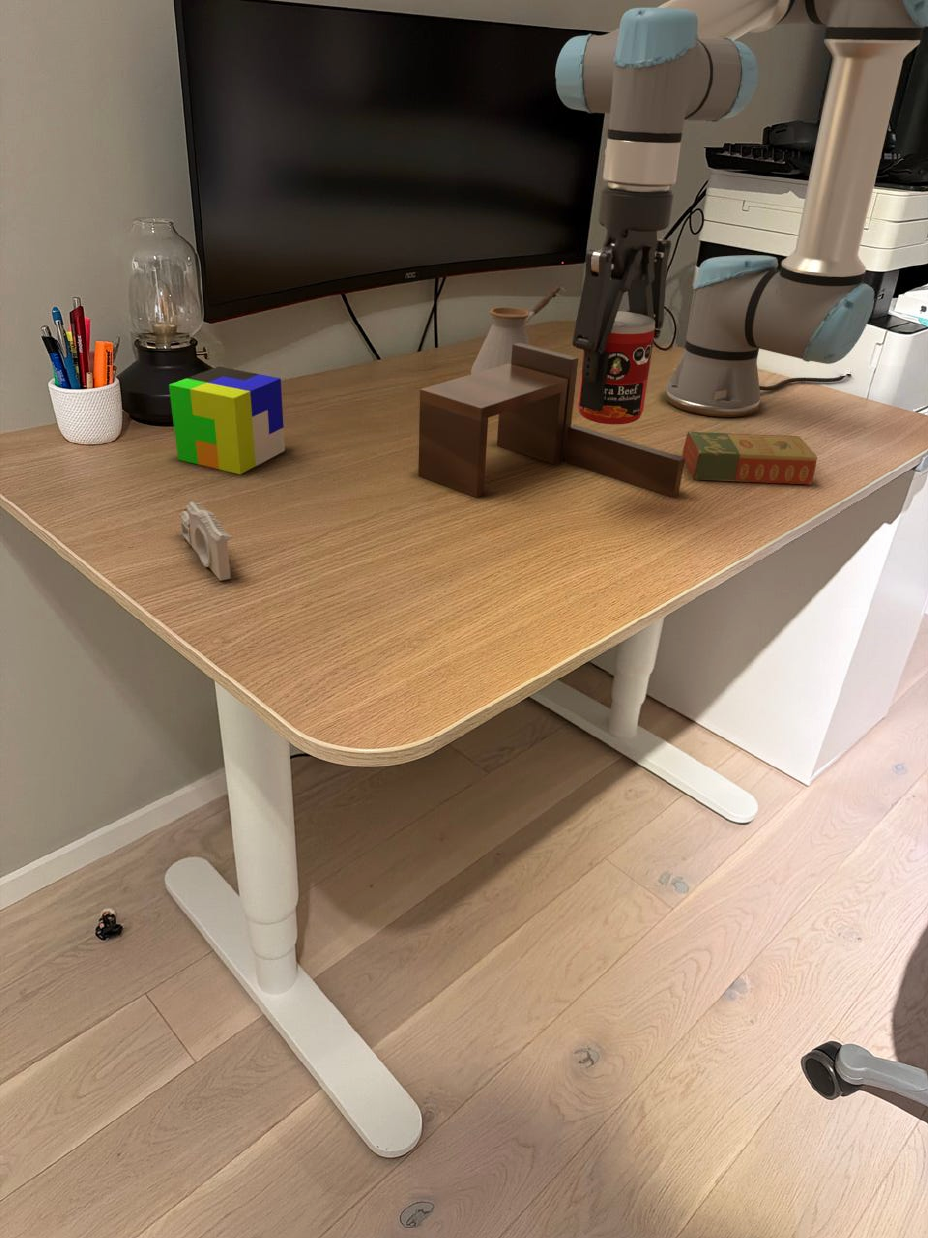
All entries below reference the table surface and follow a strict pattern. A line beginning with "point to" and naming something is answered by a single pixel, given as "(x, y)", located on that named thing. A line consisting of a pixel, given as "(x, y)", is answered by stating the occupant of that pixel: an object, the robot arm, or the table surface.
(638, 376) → the canned food
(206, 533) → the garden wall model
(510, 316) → the coffee pot
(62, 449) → the table surface
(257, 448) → the puzzle toy
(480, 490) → the step shelf
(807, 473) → the carton
